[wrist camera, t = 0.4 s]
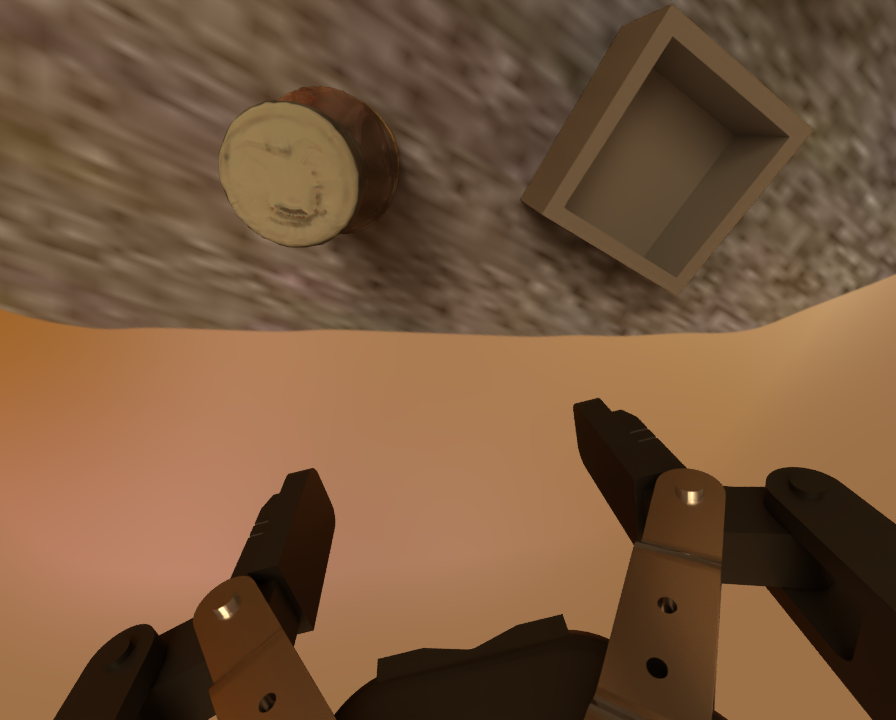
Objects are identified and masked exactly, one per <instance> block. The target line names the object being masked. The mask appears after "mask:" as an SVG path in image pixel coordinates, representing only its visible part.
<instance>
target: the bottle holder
mask: <svg viewBox="0 0 896 720" xmlns="http://www.w3.org/2000/svg"><path fill="white" fill-rule="evenodd" d="M813 130H814V129H813V128H811V127H810V126H809V125H808V124H807V123H806V122H805V121H804V120H802V119H801V118H800V117H799V116H798V115H797V114H796V113H795V112H793V111H792V110H791V109H790V108H789V107H788V106H787V105H786V104H784V103H783V102H782V101H781V100H780V99H779V98H778V97H777V96H775V95H774V94H773V93H772V92H771V91H770V90H769V89H768V88H766V87H765V86H764V85H763V84H762V83H761V82H760V81H759V80H757V79H756V78H755V77H754V76H753V75H752V74H751V73H750V72H748V71H747V70H746V69H745V68H744V67H743V66H742V65H741V64H739V63H738V62H737V61H736V60H735V59H734V58H733V57H732V56H730V55H729V54H728V53H727V52H726V51H725V50H724V49H723V48H721V47H720V46H719V45H718V44H717V43H716V42H715V41H714V40H712V39H711V38H710V37H709V36H708V35H707V34H706V33H704V32H703V31H702V30H701V29H700V28H699V27H698V26H697V25H695V24H694V23H693V22H692V21H691V20H690V19H689V18H688V17H686V16H685V15H684V14H683V13H682V12H681V11H680V10H679V9H677V8H676V7H675V6H674V5H673V4H671V5H668V6H666V7H664V8H662V9H660V10H657V11H655V12H653V13H651V14H648V15H646V16H644V17H642V18H640V19H637V20H635V21H633V22H631V23H629V24H626V25H624V26H622V27H621V29H620V31H619V32H618V34H617V36H616V37H615V39H614V41H613V43H612V44H611V46H610V48H609V49H608V51H607V53H606V55H605V56H604V58H603V60H602V61H601V63H600V65H599V66H598V68H597V70H596V72H595V73H594V75H593V77H592V78H591V80H590V82H589V83H588V85H587V87H586V89H585V90H584V92H583V94H582V95H581V97H580V99H579V100H578V102H577V104H576V106H575V107H574V109H573V111H572V112H571V114H570V116H569V117H568V119H567V121H566V123H565V124H564V126H563V128H562V129H561V131H560V133H559V135H558V136H557V138H556V140H555V141H554V143H553V145H552V146H551V148H550V150H549V152H548V153H547V155H546V157H545V158H544V160H543V162H542V163H541V165H540V167H539V169H538V170H537V172H536V174H535V175H534V177H533V179H532V180H531V182H530V184H529V186H528V187H527V189H526V191H525V192H524V194H523V196H522V197H521V199H520V200H521V201H523V202H524V203H526V204H527V205H529V206H530V207H532V208H533V209H535V210H536V211H538V212H539V213H540V214H542V215H544V216H545V217H547V218H549V219H550V220H552V221H553V222H555V223H557V224H558V225H560V226H562V227H563V228H565V229H567V230H568V231H570V232H572V233H573V234H575V235H577V236H578V237H580V238H582V239H583V240H585V241H587V242H588V243H590V244H591V245H593V246H595V247H596V248H598V249H600V250H601V251H603V252H605V253H606V254H608V255H610V256H611V257H613V258H615V259H616V260H618V261H620V262H621V263H623V264H625V265H626V266H628V267H629V268H631V269H633V270H634V271H636V272H638V273H639V274H641V275H643V276H644V277H646V278H648V279H649V280H651V281H653V282H654V283H656V284H658V285H659V286H661V287H663V288H664V289H666V290H668V291H669V292H671V293H672V294H674V295H676V296H677V295H678V294H679V293H680V292H681V291H682V289H683V288H684V287H685V286H686V284H687V283H688V282H689V281H690V280H691V278H692V277H693V276H694V275H695V273H696V272H697V271H698V270H699V269H700V267H701V266H702V265H703V264H704V263H705V261H706V260H707V259H708V258H709V256H710V255H711V254H712V253H713V252H714V250H715V249H716V248H717V247H718V245H719V244H720V243H721V242H722V241H723V239H724V238H725V237H726V236H727V235H728V233H729V232H730V231H731V230H732V228H733V227H734V226H735V225H736V224H737V222H738V221H739V220H740V219H741V217H742V216H743V215H744V214H745V213H746V211H747V210H748V209H749V208H750V207H751V205H752V204H753V203H754V202H755V200H756V199H757V198H758V197H759V196H760V194H761V193H762V192H763V191H764V189H765V188H766V187H767V186H768V185H769V183H770V182H771V181H772V180H773V179H774V177H775V176H776V175H777V174H778V172H779V171H780V170H781V169H782V168H783V166H784V165H785V164H786V163H787V161H788V160H789V159H790V158H791V157H792V155H793V154H794V153H795V152H796V151H797V149H798V148H799V147H800V146H801V144H802V143H803V142H804V141H805V140H806V138H807V137H808V136H809V135H810V133H811V132H812V131H813Z"/></svg>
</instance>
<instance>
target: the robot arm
mask: <svg viewBox="0 0 896 720" xmlns="http://www.w3.org/2000/svg"><path fill="white" fill-rule="evenodd" d="M573 412H574V420H575V427H576V435H577V443H578V449H579V453H580V456H581V459H582V461H583V464H584V466H585V467H586V469H587V470H588V472H589V474H590V475H591V477H592V479H593V480H594V482H595V483H596V485H597V487H598V488H599V490H600V491H601V493H602V494H603V496H604V498H605V500H606V501H607V503H608V504H609V506H610V508H611V509H612V511H613V512H614V514H615V515H616V517H617V519H618V520H619V522H620V524H621V525H622V527H623V528H624V530H625V532H626V533H627V535H628V536H629V538H630V540H631V541H632V543H633V545H634V547H633V551H632V554H631V558H630V562H629V566H628V570H627V574H626V578H625V582H624V585H623V589H622V593H621V597H620V602H619V605H618V609H617V613H616V617H615V620H614V624H613V629H612V632H611V636H610V639H608V638H605V637H603V636H600V635H596V634H593V633H589V632H584V631H578V630H568V629H567V626H566V623H565V620H564V617H563V614H561V615H557V616H553V617H549V618H545V619H540V620H537V621H532V622H528V623H524V624H520V625H516V626H515V627H513V628H511V629H509V630H507V631H505V632H504V633H502V634H500V635H498V636H496V637H494V638H493V639H491V640H489V641H487V642H485V643H483V644H481V645H480V646H478V647H476V648H474V649H468V650H463V649H462V650H461V649H433V648H422V649H417V650H413V651H409V652H405V653H401V654H397V655H393V656H389V657H384V658H380V659H378V665H377V677H376V678H375V679H373V680H371V681H369V682H368V683H367V684H365V685H364V686H363V687H361V688H360V689H359V690H357V691H356V692H355V693H354V694H353V695H352V696H351V697H350V698H349V699H348V700H347V701H346V702H345V703H344V704H343V705H342V706H341V707H340V709H339V710H338V711H337V712H336V713H335V715H334V714H333V712H332V711H331V709H330V708H329V706H328V704H327V702H326V701H325V699H324V697H323V696H322V694H321V692H320V691H319V689H318V687H317V686H316V684H315V682H314V680H313V679H312V677H311V675H310V674H309V672H308V670H307V669H306V667H305V665H304V663H303V662H302V660H301V659H300V657H299V655H298V653H297V652H296V650H295V648H294V644H295V640H296V636H297V634H301V633H305V632H309V631H313V630H314V626H315V621H316V616H317V612H318V607H319V602H320V597H321V592H322V587H323V583H324V578H325V573H326V568H327V563H328V558H329V554H330V549H331V544H332V539H333V534H334V529H335V514H334V509H333V506H332V504H331V501H330V499H329V497H328V495H327V492H326V490H325V488H324V486H323V483H322V481H321V479H320V477H319V475H318V472H317V471H316V470H315V469H314V468H311V469H307V470H303V471H299V472H294V473H290V474H288V475H287V477H286V479H285V481H284V484H283V486H282V489H281V492H280V493H279V494H275V495H273V496H272V497H271V498H270V499H269V501H268V502H267V503H266V504H265V505H264V506H263V507H262V509H261V511H260V513H259V515H258V518H257V520H256V522H255V526H253V529H252V531H251V533H250V538H248V540H247V542H246V544H245V547H244V549H243V551H242V553H241V556H240V558H239V560H238V562H237V565H236V567H235V569H234V571H233V574H232V576H231V578H230V579H229V580H227V581H225V582H223V583H221V584H220V585H218V586H217V587H215V588H214V589H213V590H212V591H211V592H210V593H208V594H207V596H205V598H204V599H203V600H202V601H201V603H200V604H199V606H198V607H197V609H196V611H195V613H194V617H193V618H192V619H190V620H188V621H186V622H185V623H183V624H180V625H178V626H176V627H175V628H173V629H171V630H169V631H167V632H165V633H163V634H161V635H158V634H157V632H156V631H155V630H154V629H153V627H152V626H150V625H147V624H140V625H136V626H133V627H130V628H128V629H126V630H124V631H122V632H121V633H119V634H118V635H116V636H115V637H113V638H112V639H111V640H109V641H108V642H107V643H106V644H105V645H103V647H101V649H99V650H98V651H97V653H96V654H95V655H94V656H93V657H92V658H91V660H90V661H89V663H88V664H87V666H86V667H85V669H84V670H83V672H82V674H81V675H80V677H79V679H78V680H77V682H76V683H75V685H74V687H73V688H72V690H71V692H70V693H69V695H68V697H67V699H66V700H65V701H64V703H63V705H62V706H61V708H60V710H59V711H58V713H57V715H56V717H55V718H54V720H208V719H209V718H211V717H213V716H215V715H216V716H217V719H218V720H727V719H726V718H725V717H723V716H722V715H721V714H719V713H718V712H716V711H715V710H714V709H715V692H716V673H717V654H718V635H719V619H720V602H721V585H722V583H724V584H738V585H754V586H755V585H756V586H766V588H767V589H768V590H769V591H770V593H771V594H772V595H773V596H774V598H775V599H776V600H777V601H778V603H779V604H780V605H781V606H782V608H783V609H784V610H785V611H786V613H787V614H788V615H789V616H790V618H791V619H792V620H793V621H794V622H795V624H796V625H797V626H798V627H799V629H800V630H801V631H802V633H803V634H804V635H805V636H806V638H807V639H808V640H809V641H810V642H811V644H812V645H813V646H814V647H815V649H816V650H817V651H818V652H819V654H820V655H821V656H822V657H823V659H824V660H825V661H826V662H827V664H828V665H829V666H830V667H831V669H832V670H833V671H834V672H835V674H836V675H837V676H838V677H839V678H840V680H841V681H842V682H843V684H844V685H845V686H846V687H847V689H848V690H849V691H850V692H851V693H852V695H853V696H854V697H855V699H856V700H857V701H858V702H859V704H860V705H861V706H862V707H863V709H864V710H865V711H866V712H867V714H868V715H869V716H870V717H871V719H872V720H896V524H895V523H894V522H892V521H891V520H890V519H888V518H887V517H885V516H884V515H883V514H882V513H880V512H879V511H878V510H876V509H875V508H874V507H872V506H871V505H870V504H869V503H867V502H866V501H865V500H863V499H862V498H861V497H859V496H858V495H857V494H855V493H854V492H853V491H851V490H850V489H849V488H847V487H846V486H845V485H844V484H842V483H840V482H839V481H838V480H836V479H835V478H833V477H831V476H829V475H827V474H824V473H822V472H819V471H816V470H812V469H806V468H799V467H787V468H781V469H777V470H775V471H773V472H771V473H770V474H769V475H768V476H767V479H766V485H765V487H728V486H722V484H721V483H720V482H719V481H718V480H717V479H715V478H714V477H713V476H711V475H709V474H707V473H705V472H702V471H698V470H694V469H687V468H686V467H685V466H684V465H683V464H682V463H681V462H680V461H679V460H678V459H677V458H676V457H675V456H674V455H673V453H671V451H670V450H669V449H668V448H666V447H665V445H664V444H663V443H662V442H661V441H660V440H659V439H658V438H656V437H655V435H654V434H653V433H652V432H651V431H650V430H648V429H647V427H646V426H645V425H644V424H643V423H642V422H641V421H640V420H639V419H638V418H637V417H636V416H634V415H632V414H630V413H628V412H625V411H623V410H618V411H613V412H612V411H611V410H610V409H609V408H608V407H607V406H606V405H605V404H604V402H603V401H602V400H601V399H600V398H596V399H592V400H588V401H584V402H580V403H576V404H574V406H573Z"/></svg>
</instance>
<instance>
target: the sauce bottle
mask: <svg viewBox="0 0 896 720" xmlns="http://www.w3.org/2000/svg"><path fill="white" fill-rule="evenodd" d="M219 174H220V180H221V184H222V186H223V188H224V191H225V193H226V196H227V199H228V201H229V202H230V204H231V205H232V207H233V208H234V210H235V212H236V214H237V215H238V216H239V217H240V219H241V220H242V221H243V222H244V223H245V224H246V225H247V226H248V227H249V228H250V229H252V230H254V231H255V232H256V233H258V234H259V235H260V236H261V237H263V238H265V239H268V240H271V241H273V242H275V243H277V244H279V245H283V246H286V247H311V246H316V245H321V244H324V243H326V242H328V241H330V240H332V239H333V238H334V237H335V236H337V235H339V234H349V233H355V232H358V231H361V230H363V229H365V228H367V227H369V226H371V225H372V224H373V223H375V222H376V221H377V220H378V219H379V218H380V217H381V216H382V215H383V214H384V213H385V212H386V210H387V209H388V207H389V205H390V203H391V201H392V199H393V197H394V194H395V191H396V187H397V182H398V174H399V156H398V149H397V145H396V142H395V139H394V137H393V135H392V133H391V131H390V129H389V128H388V127H387V125H386V124H385V122H384V121H383V120H382V118H381V117H380V116H379V115H378V114H377V113H376V112H375V111H374V110H373V109H371V108H370V107H369V106H368V105H367V104H365V103H364V102H362V101H361V100H359V99H357V98H356V97H354V96H351V95H349V94H347V93H345V92H344V91H341V90H337V89H333V88H330V87H314V86H313V87H308V88H306V87H302V88H300V89H299V90H295V91H293V92H290V93H288V94H287V95H285V96H284V97H282V98H280V99H279V100H278V101H276V100H275V101H265V102H263V103H261V104H258V105H255V106H252V107H250V108H249V109H247V110H245V111H244V112H242V113H241V114H240V115H239V116H238V117H237V118H236V119H235V120H234V121H233V122H232V123H231V125H230V126H229V128H228V130H227V132H226V134H225V137H224V140H223V143H222V146H221V149H220V152H219Z"/></svg>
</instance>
